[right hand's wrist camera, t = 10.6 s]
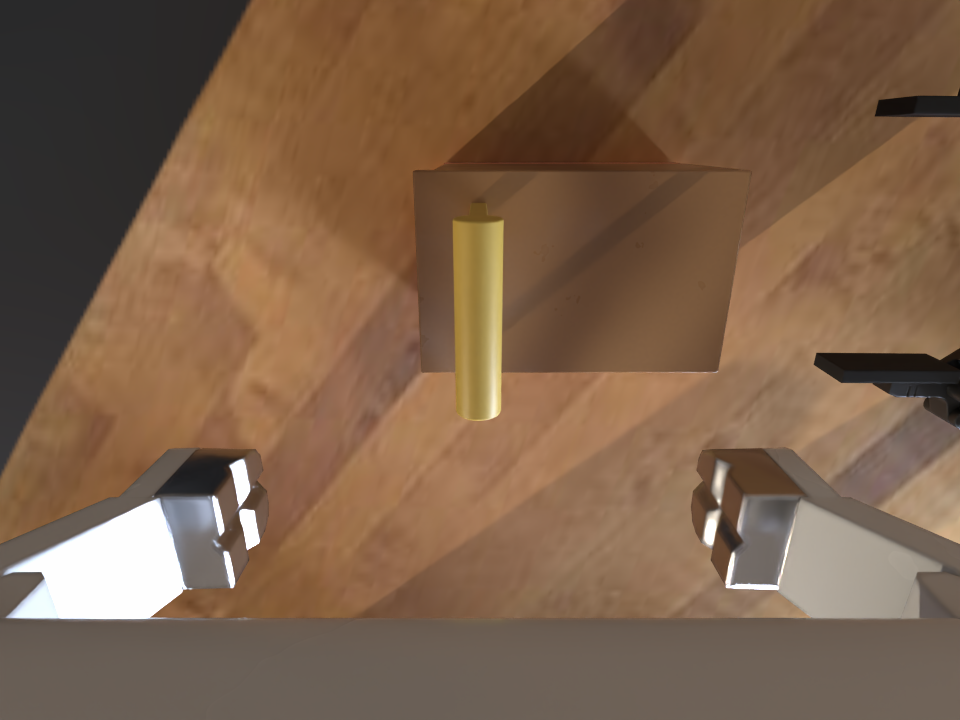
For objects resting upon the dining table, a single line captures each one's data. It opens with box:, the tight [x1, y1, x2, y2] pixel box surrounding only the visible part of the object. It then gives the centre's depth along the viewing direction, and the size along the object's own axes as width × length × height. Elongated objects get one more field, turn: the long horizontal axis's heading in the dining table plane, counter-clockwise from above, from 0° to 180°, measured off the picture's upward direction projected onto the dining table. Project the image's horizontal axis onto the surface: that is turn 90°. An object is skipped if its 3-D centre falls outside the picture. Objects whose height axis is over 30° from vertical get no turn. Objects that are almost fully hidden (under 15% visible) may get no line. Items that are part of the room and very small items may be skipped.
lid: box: [413, 170, 752, 421], centre depth 23 cm, size 15×10×8 cm, turn 90°
